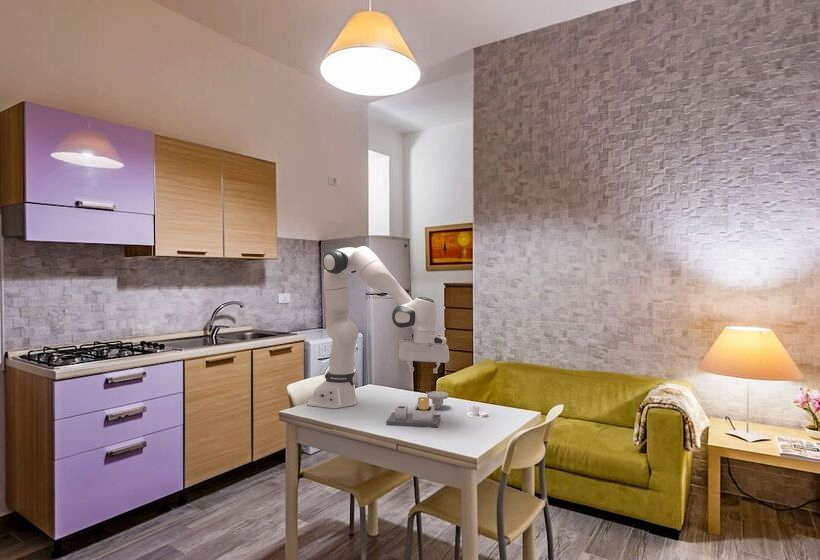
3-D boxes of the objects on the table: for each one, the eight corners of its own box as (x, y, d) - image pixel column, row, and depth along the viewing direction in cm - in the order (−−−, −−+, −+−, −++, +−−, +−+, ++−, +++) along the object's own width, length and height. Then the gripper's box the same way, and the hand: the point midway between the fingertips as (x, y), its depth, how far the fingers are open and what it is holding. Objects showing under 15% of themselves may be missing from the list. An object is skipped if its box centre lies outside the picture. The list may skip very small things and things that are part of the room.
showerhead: (425, 389, 208) (447, 389, 208) (425, 405, 208) (447, 405, 208) (425, 394, 198) (449, 394, 198) (425, 410, 198) (449, 411, 198)
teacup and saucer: (490, 417, 191) (490, 407, 191) (475, 420, 187) (475, 410, 187) (477, 412, 198) (477, 402, 198) (462, 414, 194) (462, 405, 194)
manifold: (386, 424, 179) (386, 410, 179) (392, 415, 191) (392, 402, 191) (437, 427, 176) (437, 413, 176) (440, 418, 188) (440, 405, 188)
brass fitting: (417, 419, 181) (417, 399, 181) (418, 416, 185) (418, 396, 185) (428, 420, 180) (428, 400, 180) (429, 417, 185) (429, 397, 185)
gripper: (397, 337, 182) (396, 372, 182) (448, 340, 178) (447, 375, 178) (400, 335, 188) (399, 369, 188) (450, 338, 184) (449, 372, 184)
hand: (423, 372), depth 183 cm, fingers open, 8 cm apart
